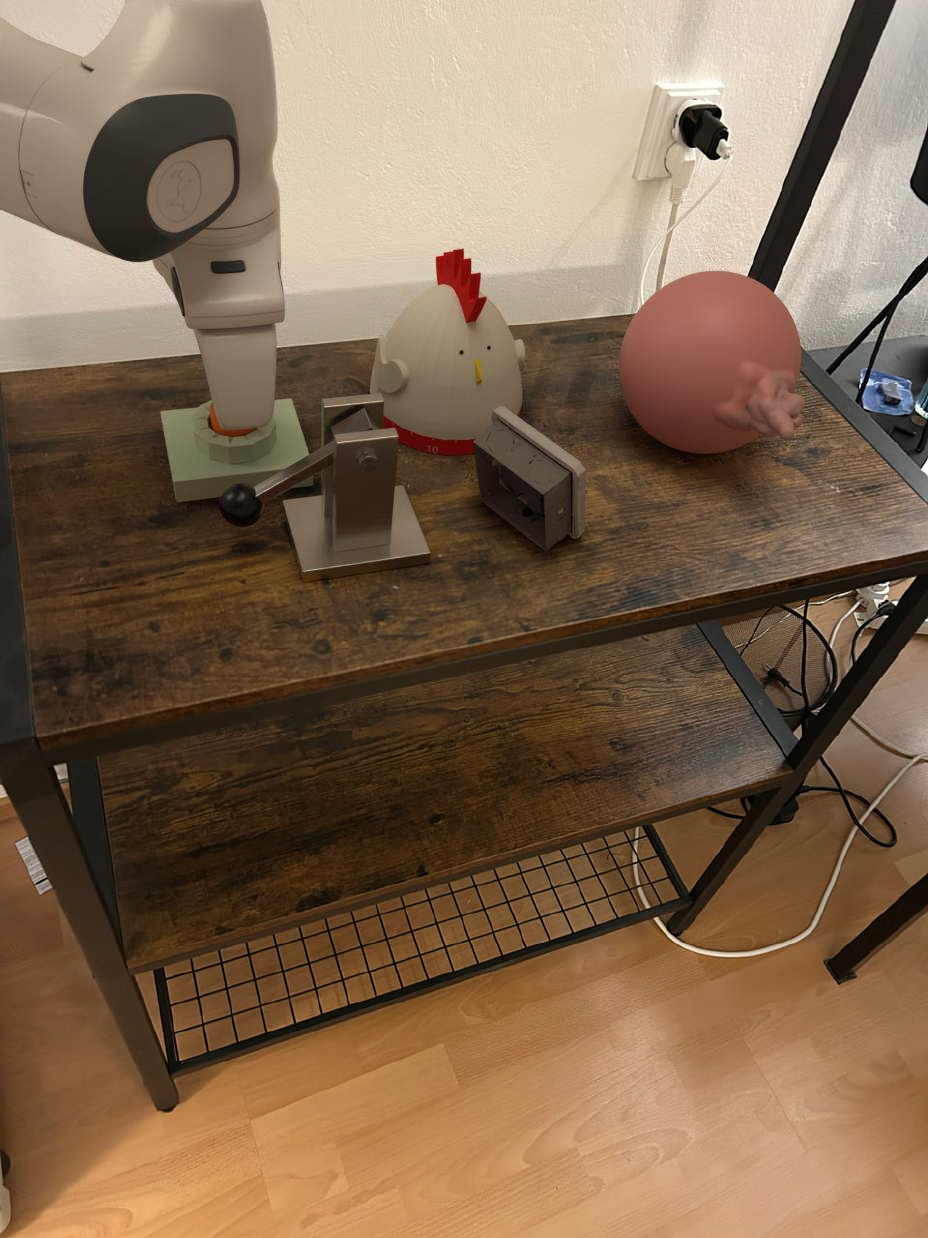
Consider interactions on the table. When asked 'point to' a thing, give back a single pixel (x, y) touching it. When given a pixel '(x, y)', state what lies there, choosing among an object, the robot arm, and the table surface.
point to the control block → (229, 451)
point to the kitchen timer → (448, 364)
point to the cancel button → (226, 432)
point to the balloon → (712, 364)
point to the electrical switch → (530, 480)
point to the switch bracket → (356, 502)
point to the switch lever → (285, 476)
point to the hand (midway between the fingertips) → (228, 402)
